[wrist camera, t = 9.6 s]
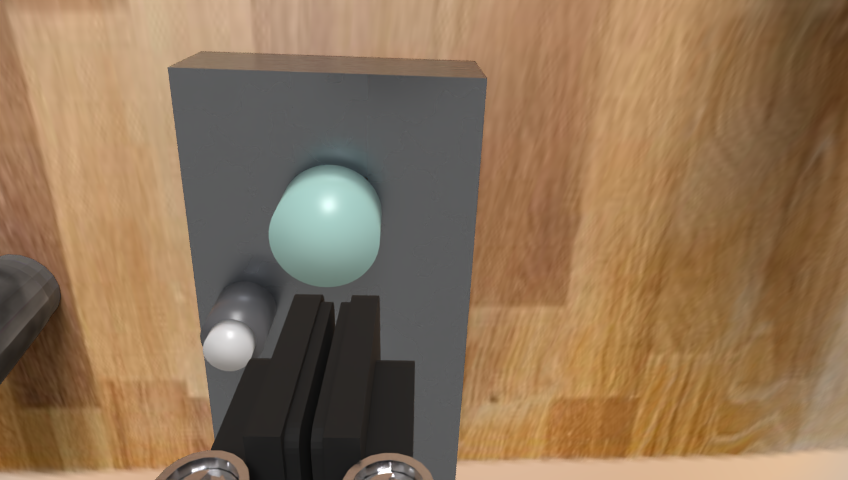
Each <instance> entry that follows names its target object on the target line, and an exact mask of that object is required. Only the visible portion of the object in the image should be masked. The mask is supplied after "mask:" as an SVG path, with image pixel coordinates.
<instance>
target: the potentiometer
mask: <svg viewBox="0 0 848 480" xmlns="http://www.w3.org/2000/svg"><path fill="white" fill-rule="evenodd" d="M275 315H276V303H275V300H274V298H273V296H272V295H271V293H270V292H269V291H268V290H267V289H265V288H264V287H262V286H261V285H259V284H256V283H253V282H248V281H240V282H235V283H232V284H230V285H228V286H227V287H226V288H224V289H223V290H222V292H221V293H220V295H219V297H218V299H217V301H216V302H215V304H214V306H213V308H212V310H211V312H210V314H209V315H208V317H207V319H206V321H205V323H204V325H203V327H202V329H201V334H200V338H201V343H202V346H203V354H204V356H205V358H206V360H207V361H208V362H209V363H210V364H211V365H212V366H214V367H215V368H217V369H220V370H223V371H236V370H239V369H242V368H243V367H245V366H246V365H247V363H248V361H249V360H250V359H251V358H258V357H259V356H260V354H261V353H262V351H263V349H264V346H265V343H266V340H267V338H268V335H269V332H270V329H271V326H272V323H273V321H274V318H275Z"/></svg>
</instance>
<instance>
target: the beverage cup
mask: <svg viewBox="0 0 848 480" xmlns="http://www.w3.org/2000/svg"><path fill="white" fill-rule="evenodd" d="M60 297H61V295H60V289H59V285H58V283H57V281H56V279H55V278H54V276H53V275H52V274H51V273H50V272H49V270H48V269H47V268H46V267H45V266H43V265H41V264H40V263H38V262H37V261H35V260H33V259H30V258H27V257H24V256H21V255H9V254H8V255H3V256H0V384H1V383H2V382H3V380H4V379H5V378H6V377H7V375H8V374H9V373H10V371H11V370H12V369H13V367H14V366H15V365H16V363H17V362H18V361H19V359H20V358H21V357H22V356H23V354H24V353H25V352H26V350H27V349H28V348H29V346H30V345H31V344H32V342H33V341H34V340H35V338H36V337H37V336H38V334H39V333H40V332H41V331H42V329H43V328H44V327H45V325H46V324H47V322H48V321H49V318H50V316H51V315H52V314H53V313H54V311H55V310H56V309H57V307H58V306H59V302H60Z"/></svg>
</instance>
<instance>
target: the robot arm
mask: <svg viewBox="0 0 848 480" xmlns="http://www.w3.org/2000/svg"><path fill="white" fill-rule="evenodd" d="M414 395H415V361H407V360H381V345H380V297H379V295H352V297H351V302H341V305H340V309H339V313H338V318H337V322H336V326H335V309H334V303H333V302H325V299H324V296H323V295H322V294H295V296H294V298H293V300H292V303H291V306H290V309H289V311H288V314H287V317H286V320H285V322H284V325H283V328H282V330H281V333H280V336H279V339H278V341H277V344H276V347H275V350H274V352H273V355H272V358H251V359H250V360H249V361H248V363H247V365H246V367H245V369H244V372H243V374H242V377H241V379H240V381H239V384H238V386H237V388H236V391H235V393H234V396H233V398H232V400H231V403H230V405H229V408H228V410H227V412H226V415H225V417H224V419H223V422H222V424H221V427H220V429H219V431H218V434H217V436H216V439H215V441H214V443H213V446H212V448H211V450H207V451H202V452H197V453H193V454H190V455H188V456H186V457H183V458H181V459H178V460H177V461H176V462H174V463H173V464H171V465H170V466H168V467H167V468H166V469H165V470H164V471H163V472H162V473H161V474H160V475H159V476H158V477H157V478H156V480H433V478H432V475H431V473H430V472H429V470H428V469H427V468H426V467H425V466H424V465H423V464H422V463H421V462H419V461H417V460H415V459H414V458H413V445H414Z"/></svg>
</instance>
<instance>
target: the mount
mask: <svg viewBox="0 0 848 480" xmlns="http://www.w3.org/2000/svg"><path fill="white" fill-rule="evenodd" d="M168 73H169V81H170V89H171V97H172V105H173V113H174V121H175V129H176V137H177V144H178V152H179V160H180V168H181V176H182V184H183V192H184V200H185V208H186V216H187V224H188V232H189V240H190V248H191V255H192V263H193V271H194V279H195V287H196V295H197V303H198V311H199V319H200V327H201V329H202V327H203V325H204V323H205V321H206V319H207V317H208V315H209V314H210V312H211V310H212V308H213V306H214V304H215V302H216V301H217V299H218V297H219V295H220V293H221V292H222V290H223V289H224V288H226V287H227V286H228V285H230V284H232V283H235V282H240V281H248V282H253V283H256V284H259V285H261V286H262V287H264V288H265V289H267V290H268V291H269V292H270V293H271V295H272V296H273V298H274V300H275V303H276V315H275V318H274V321H273V323H272V326H271V329H270V332H269V335H268V338H267V340H266V343H265V346H264V349H263V351H262V353H261V354H260V356H259V357H258V358H272V355H273V352H274V350H275V347H276V344H277V341H278V339H279V336H280V333H281V330H282V328H283V325H284V322H285V320H286V317H287V314H288V311H289V309H290V306H291V303H292V300H293V298H294V296H295V294H322V295H323V296H324V299H325V302H333V303H334V309H335V326H336V322H337V318H338V313H339V309H340V305H341V302H351V297H352V295H379V297H380V345H381V360H407V361H415V395H414V445H413V458H414V459H415V460H417V461H419V462H421V463H422V464H423V465H424V466H425V467H426V468H427V469H428V470H429V472H430V473H431V475H432V478H433V480H455V475H456V463H457V451H458V438H459V426H460V413H461V401H462V388H463V375H464V363H465V350H466V338H467V325H468V312H469V300H470V287H471V275H472V262H473V249H474V237H475V224H476V212H477V199H478V187H479V174H480V161H481V149H482V136H483V124H484V111H485V98H486V86H487V77H486V76H485V75H484V73H483V72H482V70H481V69H480V67H479V66H478V65H477V63H476V62H475V61H455V60H426V59H398V58H370V57H342V56H314V55H286V54H258V53H230V52H202V51H201V52H199V53H197V54H195V55H193V56H191V57H188V58H186V59H184V60H182V61H180V62H178V63H176V64H174V65H172V66H169V67H168ZM320 165H338V166H343V167H346V168H349V169H351V170H353V171H355V172H357V173H359V174H360V175H362V176H363V177H367V178H368V182H369V183H370V184H371V185H372V186H373V188H374V189H375V191H376V193H377V195H378V197H379V200H380V203H381V208H382V219H381V232H380V245H379V250H378V254H377V256H376V259H375V261H374V262H373V264H372V265H371V267H370V268H369V269H368V270H367V271H366V272H365V273H364V274H363V275H362V276H361V277H359V278H358V279H356V280H354V281H353V282H350V283H348V284H345V285H341V286H336V287H318V286H312V285H309V284H306V283H303V282H301V281H299V280H297V279H295V278H294V277H292V276H291V275H290V274H288V273H287V272H286V271H285V270H284V269H283V268H282V267H281V266H280V265H279V263H278V262H277V260H276V259H275V257H274V255H273V253H272V250H271V247H270V243H269V226H270V222H271V219H272V216H273V214H274V212H275V210H276V208H277V206H278V204H279V202H280V200H281V198H282V196H283V194H284V192H285V190H286V188H287V187H288V185H289V184H290V182H291V181H292V180H293V179H294V178H295V177H296V176H297V175H299V174H300V173H302V172H303V171H305V170H307V169H309V168H312V167H316V166H320ZM204 358H205V356H204ZM205 366H206V374H207V382H208V390H209V398H210V406H211V414H212V422H213V430H214V438H215V439H216V436H217V434H218V431H219V429H220V427H221V424H222V422H223V419H224V417H225V415H226V412H227V410H228V408H229V405H230V403H231V400H232V398H233V396H234V393H235V391H236V388H237V386H238V384H239V381H240V379H241V377H242V374H243V372H244V369H245V367H246V366H245V367H243V368H242V369H239V370H236V371H223V370H220V369H217V368H215V367H214V366H212V365H211V364H210V363H209V362H208V361H207V360H206V358H205Z"/></svg>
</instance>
